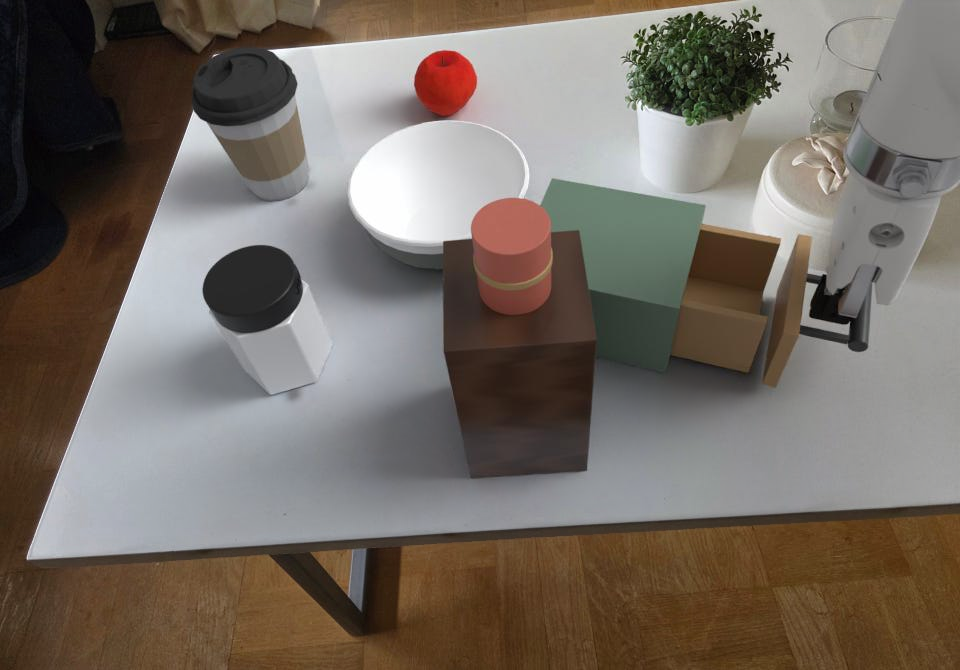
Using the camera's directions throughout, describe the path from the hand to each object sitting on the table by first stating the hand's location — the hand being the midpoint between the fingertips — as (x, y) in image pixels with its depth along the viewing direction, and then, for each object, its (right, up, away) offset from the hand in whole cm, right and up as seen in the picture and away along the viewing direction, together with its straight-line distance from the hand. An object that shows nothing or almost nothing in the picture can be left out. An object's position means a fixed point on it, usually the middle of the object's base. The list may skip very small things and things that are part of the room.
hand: (828, 314), depth 63 cm
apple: (-34, +27, +31) cm, 53 cm away
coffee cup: (-54, +17, +25) cm, 62 cm away
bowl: (-34, +9, +17) cm, 39 cm away
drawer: (-6, -1, +5) cm, 8 cm away
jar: (-49, -4, +9) cm, 50 cm away
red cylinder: (-28, +2, -13) cm, 31 cm away
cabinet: (-18, +1, +10) cm, 20 cm away
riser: (-26, -10, +2) cm, 28 cm away
